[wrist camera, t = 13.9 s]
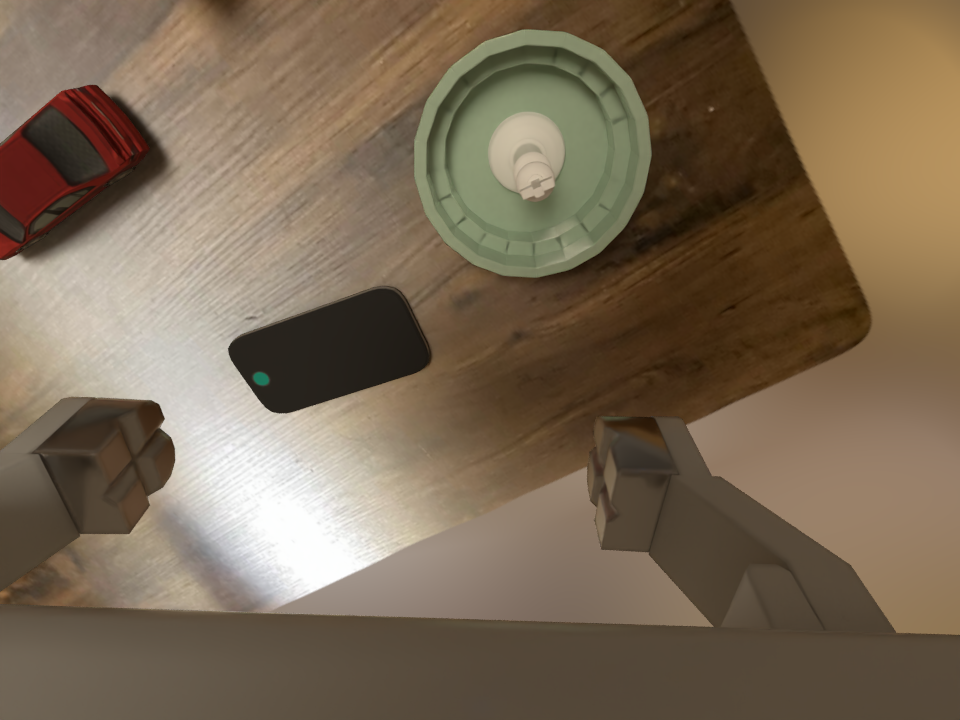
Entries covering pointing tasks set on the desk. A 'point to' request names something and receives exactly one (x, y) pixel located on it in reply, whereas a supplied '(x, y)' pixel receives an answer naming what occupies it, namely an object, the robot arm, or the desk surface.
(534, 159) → the chess piece
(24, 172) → the toy car
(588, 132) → the bowl
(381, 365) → the smartphone
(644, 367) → the desk surface
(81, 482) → the robot arm
